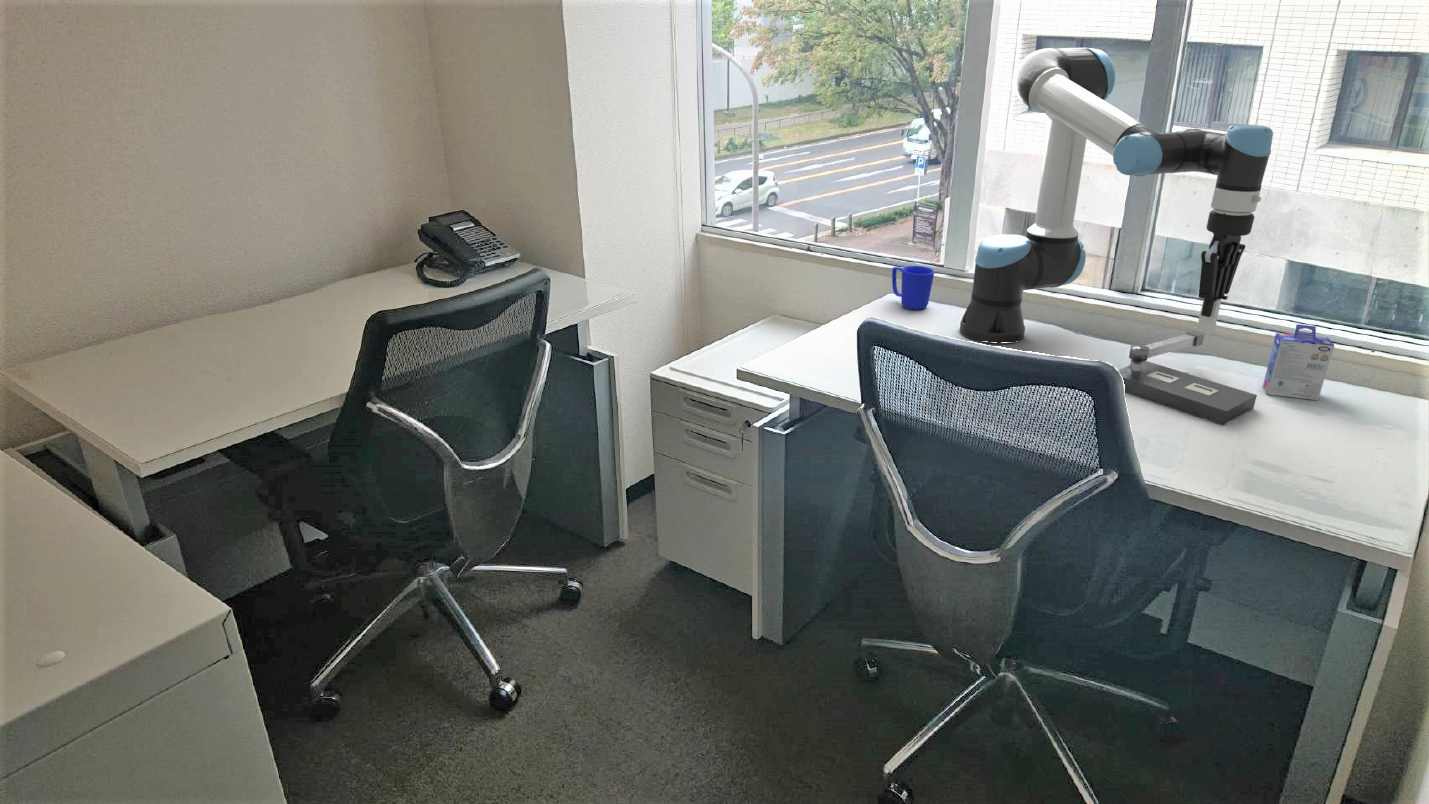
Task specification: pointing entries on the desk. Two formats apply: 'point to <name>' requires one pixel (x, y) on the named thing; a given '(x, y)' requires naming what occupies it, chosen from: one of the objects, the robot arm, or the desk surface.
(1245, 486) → the desk surface
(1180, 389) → the slab
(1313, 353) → the ink cartridge box
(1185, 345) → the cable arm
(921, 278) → the mug
